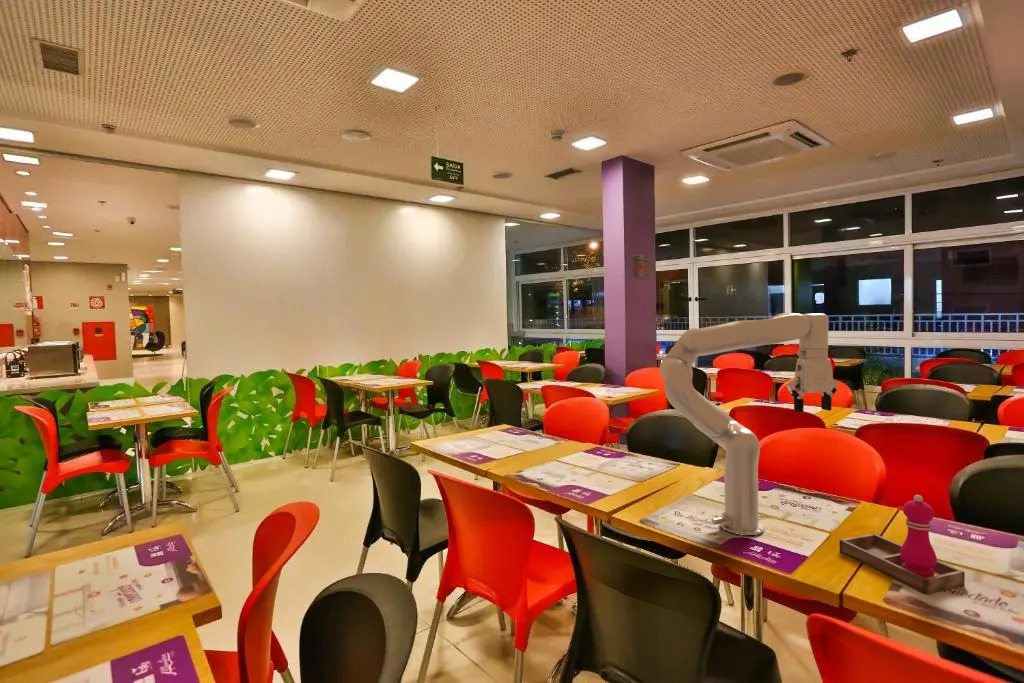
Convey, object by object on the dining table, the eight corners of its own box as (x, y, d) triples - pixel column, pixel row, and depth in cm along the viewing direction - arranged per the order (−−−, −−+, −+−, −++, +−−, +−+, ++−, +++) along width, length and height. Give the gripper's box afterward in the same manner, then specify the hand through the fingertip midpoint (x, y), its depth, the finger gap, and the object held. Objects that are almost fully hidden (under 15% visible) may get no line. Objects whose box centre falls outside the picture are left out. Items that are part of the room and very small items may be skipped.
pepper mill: (944, 581, 126) (945, 499, 125) (914, 582, 126) (914, 500, 125) (921, 567, 133) (922, 489, 132) (893, 567, 133) (893, 490, 132)
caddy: (926, 594, 122) (926, 580, 122) (839, 552, 145) (839, 539, 145) (964, 586, 125) (964, 571, 125) (873, 545, 148) (873, 533, 148)
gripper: (797, 356, 152) (796, 414, 153) (847, 354, 156) (847, 411, 157) (779, 354, 160) (778, 409, 161) (828, 352, 163) (827, 407, 164)
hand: (812, 410), depth 159 cm, fingers open, 9 cm apart
